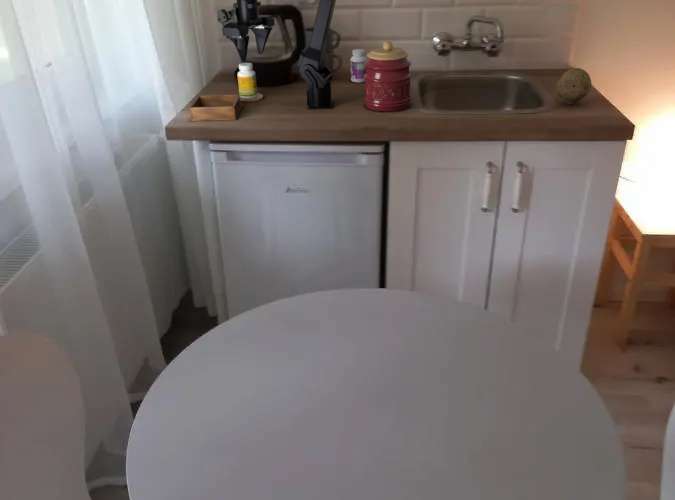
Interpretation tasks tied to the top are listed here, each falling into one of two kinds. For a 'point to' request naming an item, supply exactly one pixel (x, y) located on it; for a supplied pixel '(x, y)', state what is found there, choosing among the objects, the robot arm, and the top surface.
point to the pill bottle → (358, 65)
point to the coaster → (258, 97)
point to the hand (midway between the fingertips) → (252, 57)
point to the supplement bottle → (247, 81)
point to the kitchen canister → (387, 79)
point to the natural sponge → (573, 85)
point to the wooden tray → (215, 107)
